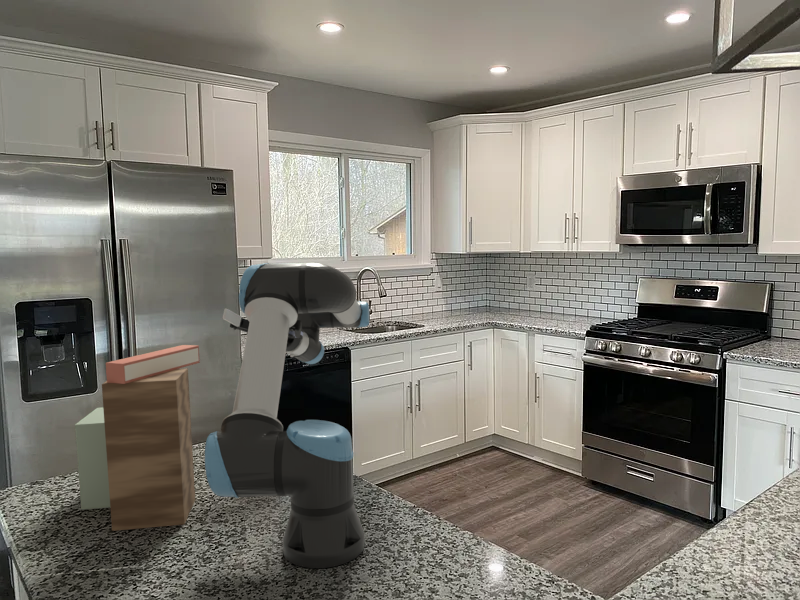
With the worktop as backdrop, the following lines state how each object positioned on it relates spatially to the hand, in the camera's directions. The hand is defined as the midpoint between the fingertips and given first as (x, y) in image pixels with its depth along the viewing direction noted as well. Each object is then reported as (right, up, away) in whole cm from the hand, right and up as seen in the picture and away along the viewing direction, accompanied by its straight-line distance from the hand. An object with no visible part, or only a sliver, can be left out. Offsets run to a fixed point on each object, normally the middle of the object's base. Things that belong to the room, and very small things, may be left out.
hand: (248, 314), depth 145 cm
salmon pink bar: (-15, -12, -16) cm, 26 cm away
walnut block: (-15, -42, -18) cm, 48 cm away
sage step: (-28, -42, -7) cm, 50 cm away
